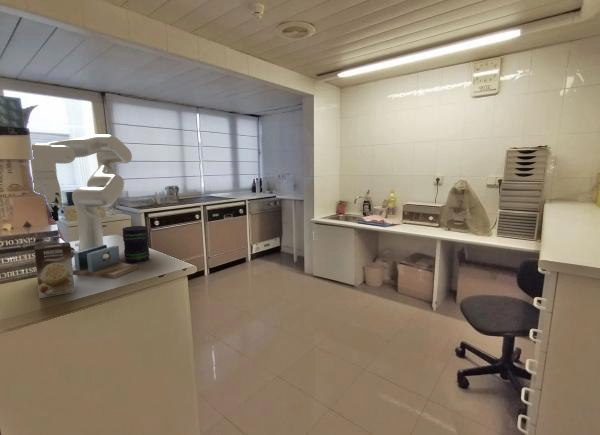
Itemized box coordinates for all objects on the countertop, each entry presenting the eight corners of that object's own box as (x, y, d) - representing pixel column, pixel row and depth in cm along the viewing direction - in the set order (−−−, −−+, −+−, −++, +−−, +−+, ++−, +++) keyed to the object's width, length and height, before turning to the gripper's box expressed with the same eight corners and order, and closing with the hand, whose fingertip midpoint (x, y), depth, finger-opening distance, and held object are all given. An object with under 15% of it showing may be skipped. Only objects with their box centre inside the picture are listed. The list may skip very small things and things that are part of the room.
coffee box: (38, 299, 92) (32, 249, 90) (39, 292, 97) (33, 245, 94) (75, 291, 98) (70, 245, 96) (74, 286, 103) (69, 241, 100)
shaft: (58, 260, 120) (56, 248, 119) (70, 256, 125) (68, 245, 124) (103, 264, 115) (102, 252, 114) (113, 261, 120) (112, 249, 119)
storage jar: (154, 259, 135) (152, 227, 132) (133, 265, 126) (131, 231, 124) (140, 256, 139) (138, 225, 137) (119, 261, 131) (117, 228, 128)
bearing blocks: (75, 270, 114) (73, 252, 112) (104, 261, 126) (102, 244, 125) (92, 272, 112) (91, 254, 111) (119, 262, 124) (118, 245, 123)
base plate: (70, 273, 115) (70, 269, 115) (97, 264, 126) (97, 260, 126) (114, 278, 111) (113, 274, 110) (137, 268, 122) (137, 264, 122)
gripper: (18, 175, 116) (24, 221, 119) (51, 176, 112) (57, 223, 115) (38, 175, 123) (43, 218, 126) (70, 176, 120) (75, 220, 123)
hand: (50, 220), depth 121 cm, fingers open, 3 cm apart
